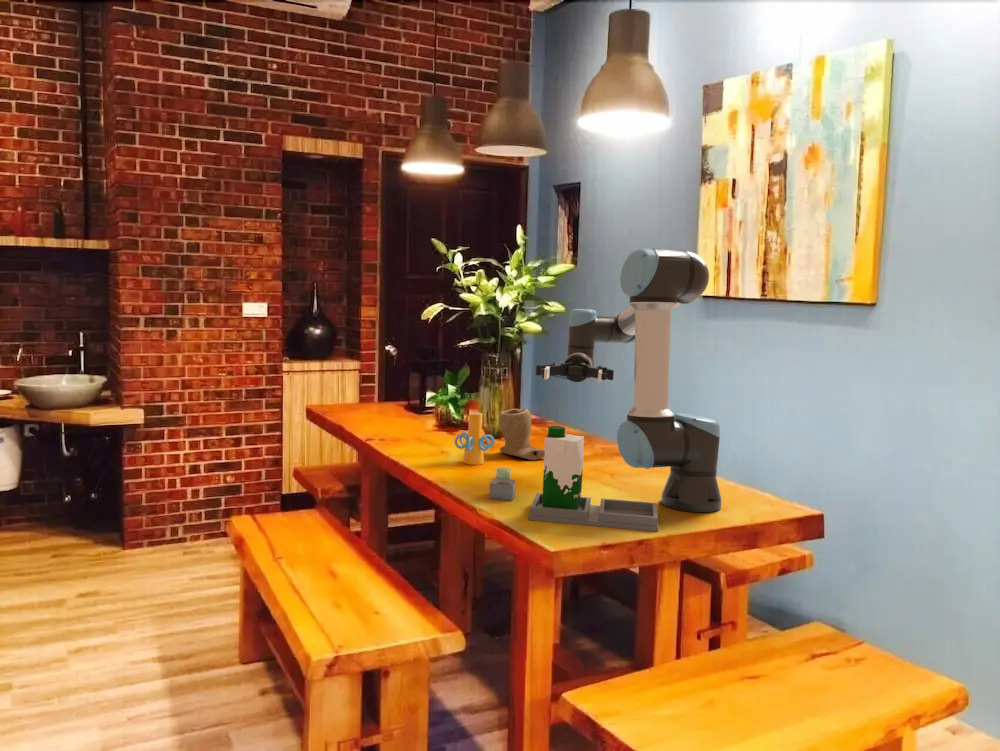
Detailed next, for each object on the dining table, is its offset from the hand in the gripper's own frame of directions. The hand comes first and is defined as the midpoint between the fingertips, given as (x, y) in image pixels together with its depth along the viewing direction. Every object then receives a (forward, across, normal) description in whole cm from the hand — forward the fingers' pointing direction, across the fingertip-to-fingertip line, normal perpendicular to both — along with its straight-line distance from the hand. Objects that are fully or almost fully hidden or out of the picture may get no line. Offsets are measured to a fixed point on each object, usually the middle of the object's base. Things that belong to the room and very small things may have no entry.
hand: (572, 376), depth 223 cm
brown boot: (-47, +18, -32) cm, 60 cm away
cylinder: (-33, +30, -32) cm, 55 cm away
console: (+3, +16, -32) cm, 36 cm away
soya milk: (+14, 0, -31) cm, 34 cm away
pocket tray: (+14, -8, -32) cm, 36 cm away
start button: (+3, +16, -27) cm, 32 cm away
